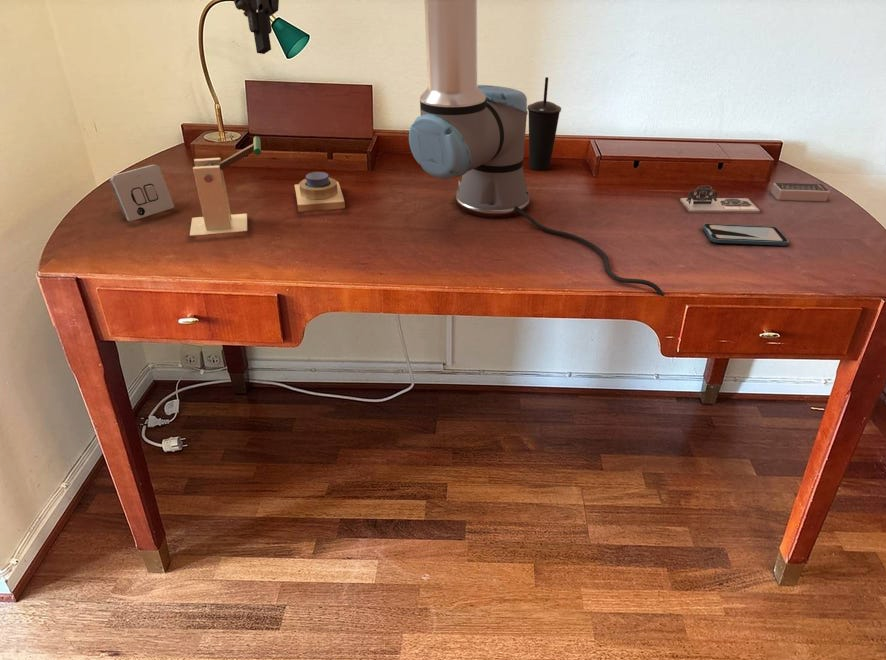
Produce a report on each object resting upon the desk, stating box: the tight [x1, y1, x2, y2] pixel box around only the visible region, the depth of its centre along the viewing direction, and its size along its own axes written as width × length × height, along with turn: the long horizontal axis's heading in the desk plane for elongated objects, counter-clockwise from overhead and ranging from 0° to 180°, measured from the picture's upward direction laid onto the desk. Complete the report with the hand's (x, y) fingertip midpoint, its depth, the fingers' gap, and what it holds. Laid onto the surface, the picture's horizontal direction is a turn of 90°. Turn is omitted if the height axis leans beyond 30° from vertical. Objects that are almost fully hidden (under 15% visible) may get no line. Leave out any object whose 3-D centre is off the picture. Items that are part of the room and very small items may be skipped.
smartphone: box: [702, 223, 790, 247], centre depth 132 cm, size 7×1×15 cm
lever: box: [204, 135, 262, 170], centre depth 122 cm, size 12×7×2 cm, turn 104°
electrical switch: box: [108, 164, 175, 222], centre depth 130 cm, size 9×5×9 cm, turn 141°
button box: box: [294, 177, 346, 213], centre depth 138 cm, size 9×11×4 cm
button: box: [305, 171, 330, 188], centre depth 137 cm, size 4×4×2 cm
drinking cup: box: [527, 76, 562, 171], centre depth 156 cm, size 8×8×20 cm
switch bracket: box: [189, 157, 248, 237], centre depth 125 cm, size 10×8×13 cm
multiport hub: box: [770, 182, 831, 202], centre depth 150 cm, size 4×11×2 cm, turn 90°
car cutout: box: [679, 185, 761, 214], centre depth 144 cm, size 15×7×4 cm, turn 94°
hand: (264, 51), depth 127 cm, fingers closed
